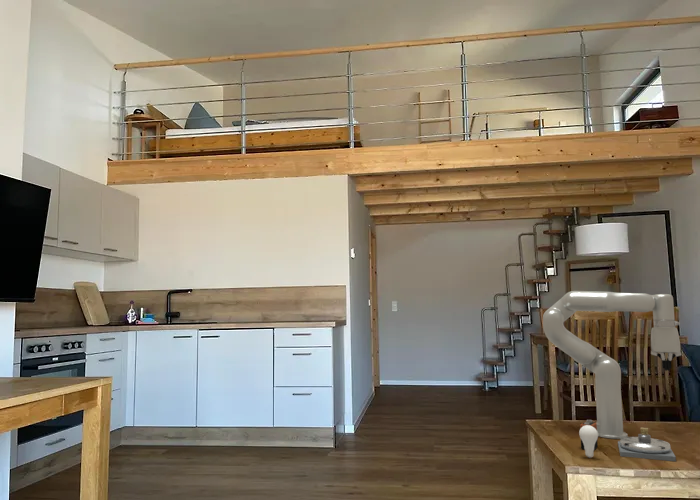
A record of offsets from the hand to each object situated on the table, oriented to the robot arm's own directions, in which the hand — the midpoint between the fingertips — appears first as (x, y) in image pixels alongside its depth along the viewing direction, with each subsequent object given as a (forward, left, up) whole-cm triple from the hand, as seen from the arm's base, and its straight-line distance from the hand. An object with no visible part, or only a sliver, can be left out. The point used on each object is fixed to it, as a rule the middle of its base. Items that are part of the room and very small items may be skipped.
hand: (667, 370), depth 220 cm
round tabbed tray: (-11, -27, -25) cm, 39 cm away
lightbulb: (-30, -42, -27) cm, 58 cm away
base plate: (-12, -27, -27) cm, 40 cm away
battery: (-30, -28, -27) cm, 49 cm away
